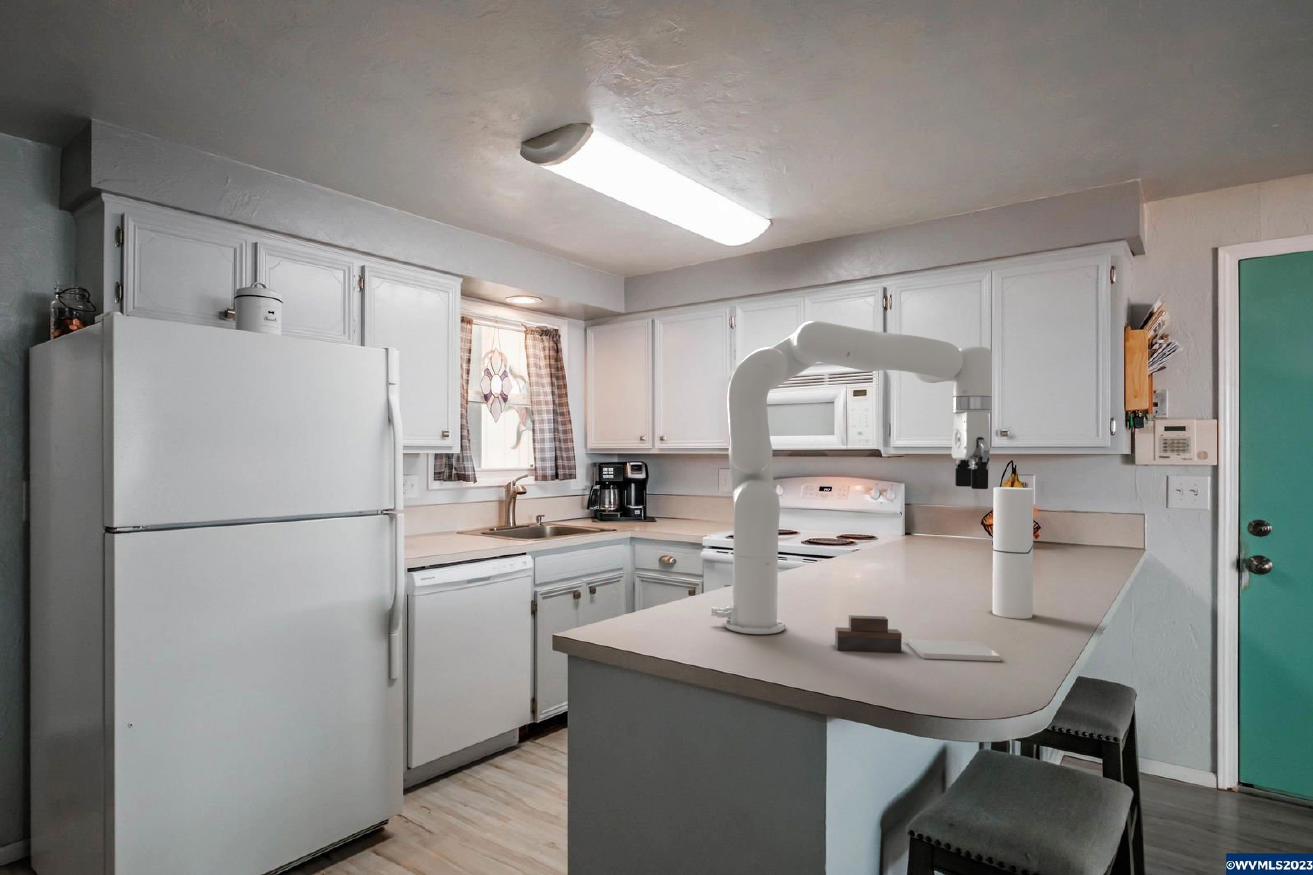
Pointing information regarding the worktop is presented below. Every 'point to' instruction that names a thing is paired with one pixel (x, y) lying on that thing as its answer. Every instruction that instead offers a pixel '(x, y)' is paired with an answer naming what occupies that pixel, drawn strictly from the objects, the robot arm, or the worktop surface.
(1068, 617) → the worktop surface
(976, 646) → the tile
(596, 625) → the worktop surface
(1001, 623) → the worktop surface
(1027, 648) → the worktop surface
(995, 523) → the container
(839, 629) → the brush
